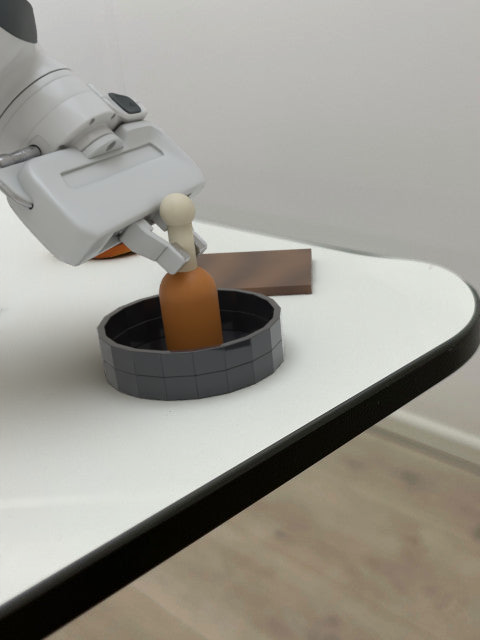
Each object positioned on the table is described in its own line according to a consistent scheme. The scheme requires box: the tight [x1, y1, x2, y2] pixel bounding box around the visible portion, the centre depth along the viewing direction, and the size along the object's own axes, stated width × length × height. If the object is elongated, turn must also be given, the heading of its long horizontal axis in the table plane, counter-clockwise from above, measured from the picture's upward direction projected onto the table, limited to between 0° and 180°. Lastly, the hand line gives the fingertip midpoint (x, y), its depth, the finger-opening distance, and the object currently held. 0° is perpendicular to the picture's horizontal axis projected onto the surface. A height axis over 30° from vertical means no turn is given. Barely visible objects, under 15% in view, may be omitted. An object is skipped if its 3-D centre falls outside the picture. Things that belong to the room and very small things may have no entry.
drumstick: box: [158, 193, 223, 351], centre depth 64 cm, size 5×5×13 cm
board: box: [196, 247, 313, 297], centre depth 87 cm, size 16×14×2 cm
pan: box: [96, 288, 285, 402], centre depth 66 cm, size 15×15×4 cm
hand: (191, 260), depth 63 cm, fingers closed on drumstick
